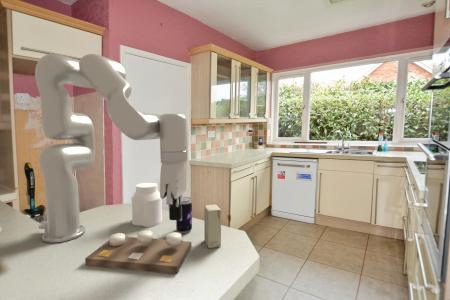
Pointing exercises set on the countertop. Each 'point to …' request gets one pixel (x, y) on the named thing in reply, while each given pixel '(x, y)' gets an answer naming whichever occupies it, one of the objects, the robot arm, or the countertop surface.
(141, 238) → the button middle
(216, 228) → the skincare box
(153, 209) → the jar
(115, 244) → the button left
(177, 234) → the button right
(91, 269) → the countertop surface
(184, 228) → the beverage can
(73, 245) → the countertop surface
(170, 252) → the button board
